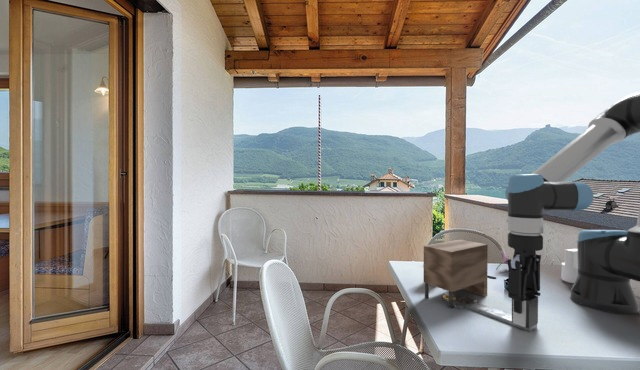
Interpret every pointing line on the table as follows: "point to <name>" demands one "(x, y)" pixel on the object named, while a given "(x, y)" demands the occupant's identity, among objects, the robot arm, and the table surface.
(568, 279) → the cylinder with rectangular tab
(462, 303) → the flat bar with block
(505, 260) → the lily
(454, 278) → the cabinet
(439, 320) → the table surface
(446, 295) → the brass disc
